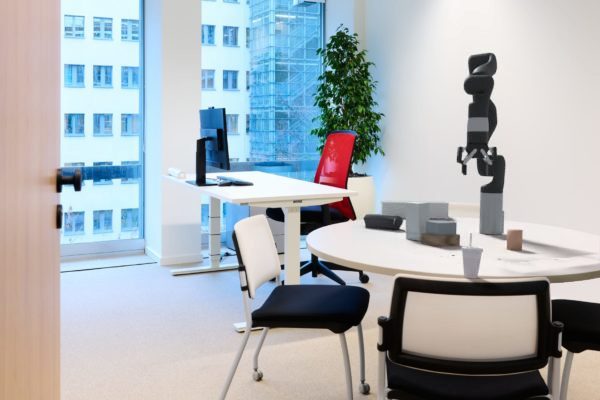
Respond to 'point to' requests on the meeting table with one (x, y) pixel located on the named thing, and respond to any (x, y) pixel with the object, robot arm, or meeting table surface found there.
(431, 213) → the long grey block
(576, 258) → the meeting table surface
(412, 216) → the skincare box
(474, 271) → the smoothie
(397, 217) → the glasses case
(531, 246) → the meeting table surface
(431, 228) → the tower top
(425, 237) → the tower base
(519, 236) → the peach capsule
